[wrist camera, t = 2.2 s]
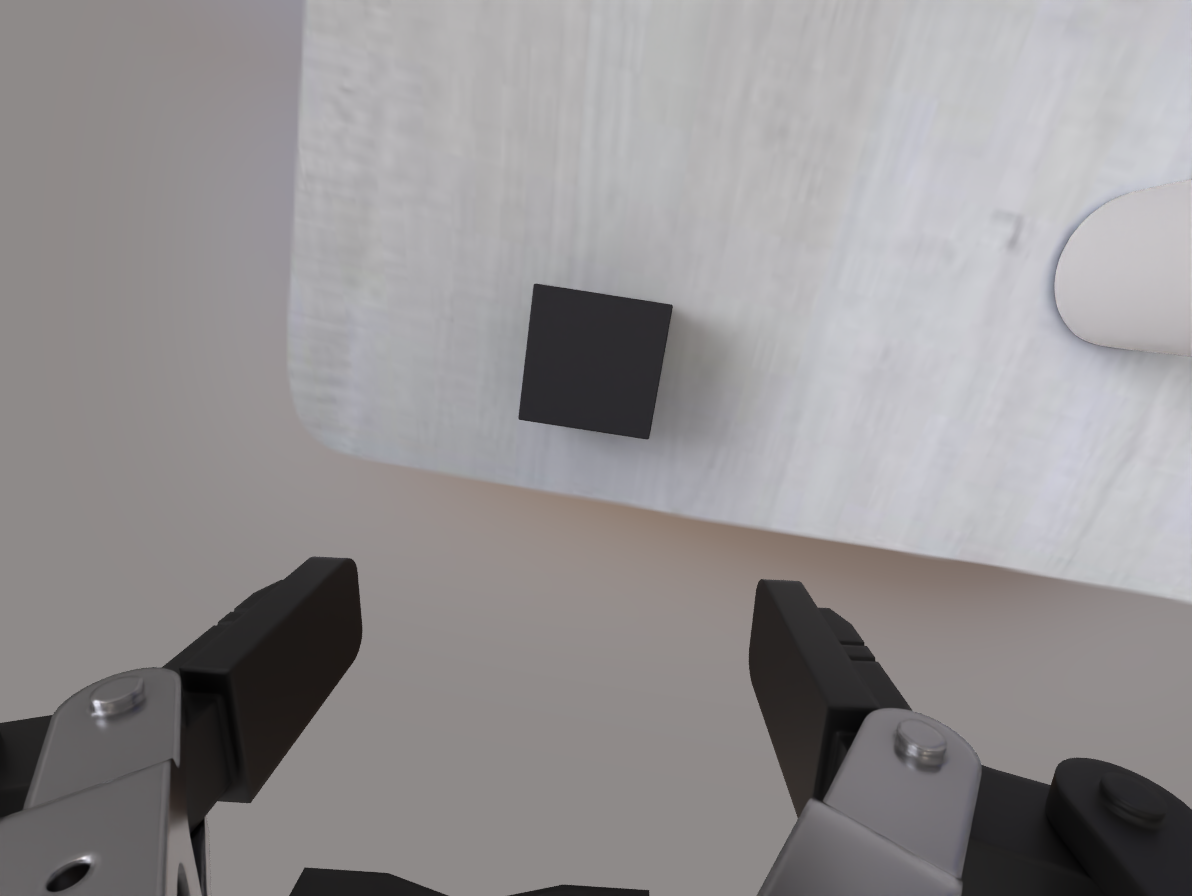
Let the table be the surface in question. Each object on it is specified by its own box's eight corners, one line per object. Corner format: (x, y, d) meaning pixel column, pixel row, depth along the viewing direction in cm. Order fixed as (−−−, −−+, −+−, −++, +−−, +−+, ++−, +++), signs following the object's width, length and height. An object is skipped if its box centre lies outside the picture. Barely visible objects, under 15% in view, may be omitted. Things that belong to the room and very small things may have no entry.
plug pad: (530, 404, 27) (518, 419, 23) (544, 285, 25) (533, 283, 22) (644, 421, 27) (648, 440, 23) (665, 303, 25) (673, 304, 22)
